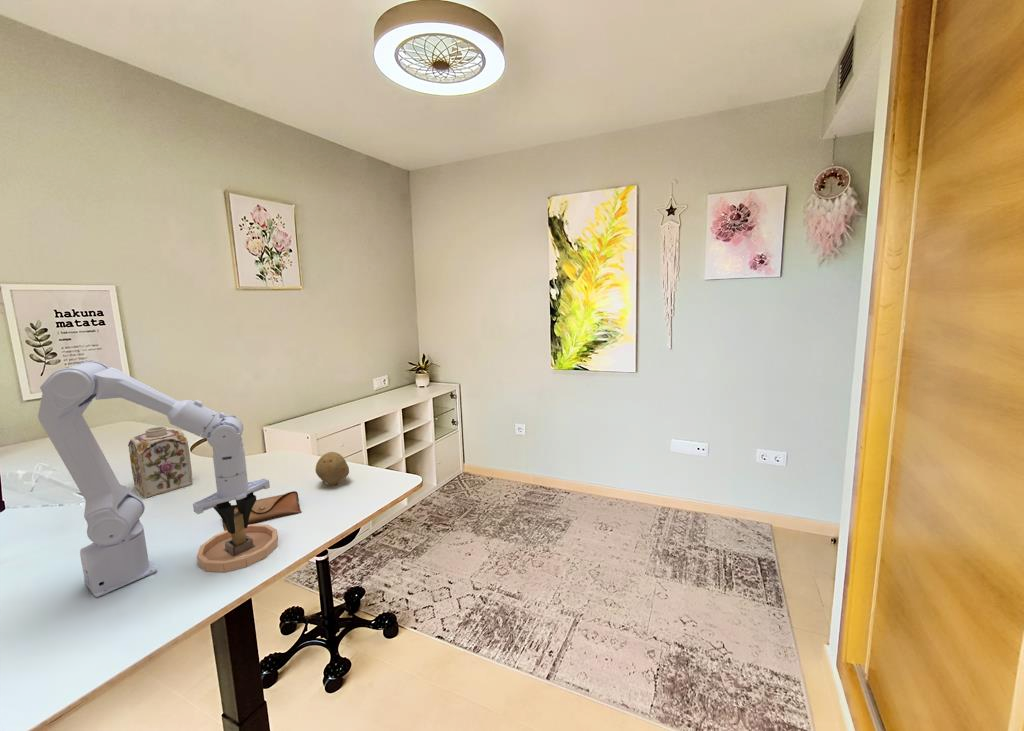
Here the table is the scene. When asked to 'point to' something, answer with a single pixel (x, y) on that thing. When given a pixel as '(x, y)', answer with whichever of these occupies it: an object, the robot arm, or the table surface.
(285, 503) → the sunglasses case
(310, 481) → the table surface
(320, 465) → the coconut
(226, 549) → the hollow square box
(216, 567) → the jar dish
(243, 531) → the brown long rectangular block
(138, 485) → the decorative jar
